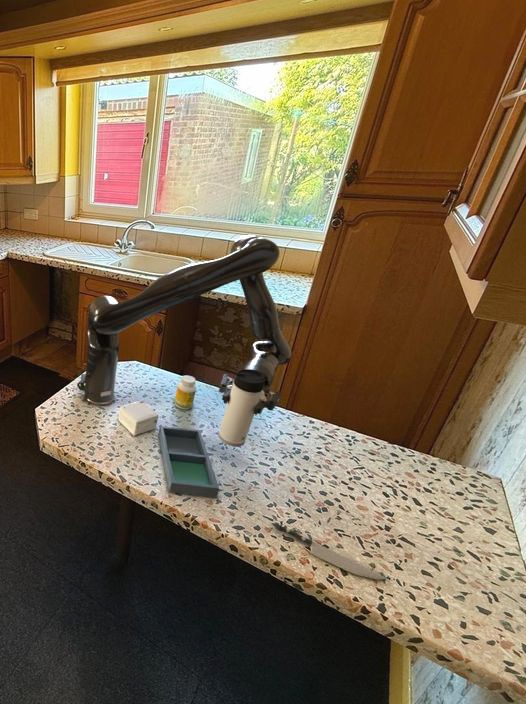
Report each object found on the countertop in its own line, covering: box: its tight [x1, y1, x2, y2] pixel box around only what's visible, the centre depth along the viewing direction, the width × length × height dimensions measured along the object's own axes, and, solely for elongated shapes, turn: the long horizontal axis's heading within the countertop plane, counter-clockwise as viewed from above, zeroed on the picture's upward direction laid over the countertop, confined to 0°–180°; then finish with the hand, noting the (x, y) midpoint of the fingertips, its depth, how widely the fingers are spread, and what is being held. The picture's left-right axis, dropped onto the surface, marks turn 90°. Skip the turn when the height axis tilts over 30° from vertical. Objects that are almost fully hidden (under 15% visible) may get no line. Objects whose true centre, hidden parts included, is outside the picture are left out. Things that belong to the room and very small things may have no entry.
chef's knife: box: [273, 523, 388, 580], centre depth 79 cm, size 19×1×3 cm
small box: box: [117, 400, 159, 436], centre depth 114 cm, size 8×8×5 cm
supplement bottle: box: [173, 374, 197, 410], centre depth 121 cm, size 5×5×10 cm
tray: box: [157, 425, 220, 499], centre depth 101 cm, size 11×20×3 cm, turn 171°
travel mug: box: [217, 368, 268, 448], centre depth 98 cm, size 6×7×20 cm
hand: (240, 405), depth 96 cm, fingers closed on travel mug, 6 cm apart
